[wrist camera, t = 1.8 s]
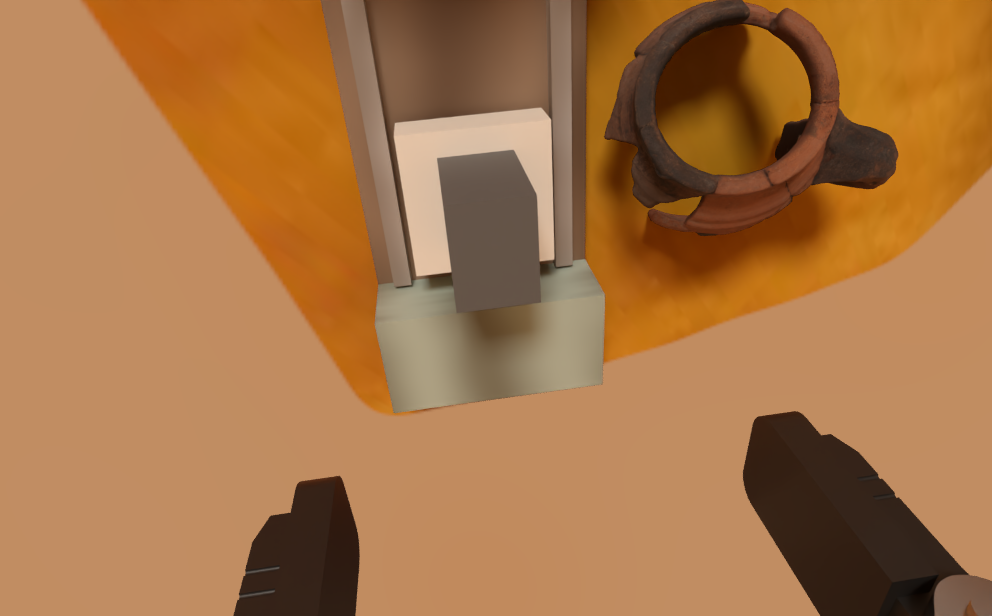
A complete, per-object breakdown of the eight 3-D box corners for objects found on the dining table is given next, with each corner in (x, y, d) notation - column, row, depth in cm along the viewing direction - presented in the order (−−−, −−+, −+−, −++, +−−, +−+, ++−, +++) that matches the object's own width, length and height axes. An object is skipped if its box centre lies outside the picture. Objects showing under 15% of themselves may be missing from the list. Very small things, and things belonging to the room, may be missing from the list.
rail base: (577, -436, 18) (676, -664, 11) (577, 327, 33) (621, 427, 26) (242, -421, 18) (136, -655, 11) (395, 351, 32) (392, 460, 25)
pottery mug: (586, 230, 31) (599, 213, 22) (609, 41, 30) (631, -47, 22) (831, 255, 29) (938, 248, 21) (859, 60, 29) (981, -25, 21)
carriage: (541, 107, 24) (583, 159, 19) (545, 240, 28) (582, 320, 22) (394, 122, 24) (389, 180, 18) (416, 255, 27) (417, 342, 21)
